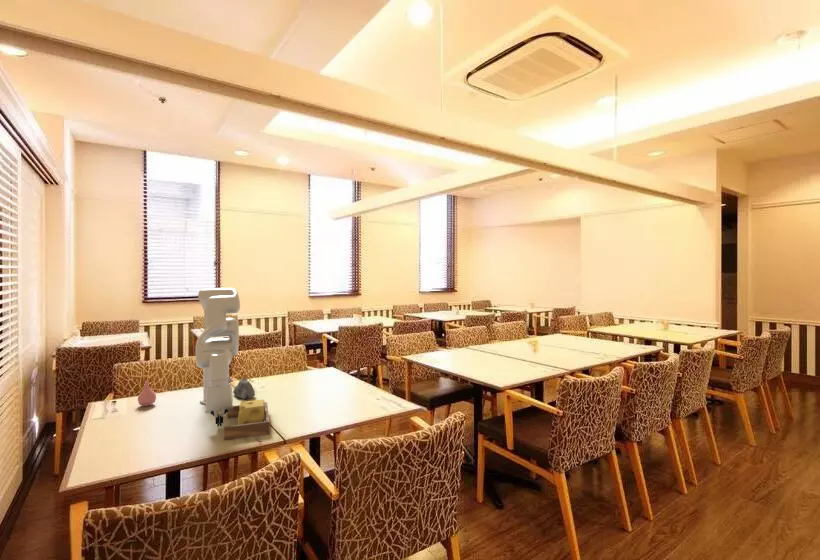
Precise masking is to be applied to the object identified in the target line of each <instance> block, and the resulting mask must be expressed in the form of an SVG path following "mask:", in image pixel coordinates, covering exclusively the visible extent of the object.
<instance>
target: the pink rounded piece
mask: <svg viewBox="0 0 820 560" xmlns="http://www.w3.org/2000/svg"><path fill="white" fill-rule="evenodd" d="M156 395H157V394H156V392H155V391H154V390H152V389H151V387H150V381H149V380H146V381H144V387H143V390H142V391H141V392H140V393H139V394H138V395H137V402H138V405H139V406H144V407H150V406H151V405H153V404H155V402H156V401H157V396H156Z"/></svg>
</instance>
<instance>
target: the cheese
mask: <svg viewBox="0 0 820 560" xmlns="http://www.w3.org/2000/svg"><path fill="white" fill-rule="evenodd" d="M264 403H265V399H256V400H254V399H253V400H242V401H240V404H239V405H240V406H239V414H238V417H237V418H238V422H237V425H241V424H249V423H257V422H265V409H264Z"/></svg>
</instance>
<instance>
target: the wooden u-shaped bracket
mask: <svg viewBox="0 0 820 560" xmlns="http://www.w3.org/2000/svg"><path fill="white" fill-rule="evenodd" d="M239 406H240V404H239V405H233V410H232V411H228V412H227V413H226V414H227V417H226V418H227V419H234V418H238V414H239ZM264 409H265V415H264V422H257V423H249V424H241V425H238V424H234V425H227V426H226V425H225V426H223V441H227V440H230V441H231V440H235V439H242V438H250V437H251V436H252V437H258V436H257V435H259V436H265V435H270V433H271V432H270V430H271V429H270V414H269V407H268V402H267V401H264Z"/></svg>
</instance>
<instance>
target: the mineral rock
mask: <svg viewBox="0 0 820 560" xmlns="http://www.w3.org/2000/svg"><path fill="white" fill-rule="evenodd" d="M232 394H233V395H234V396H236V397H238V398H241V399H243V400H248V399H253V398H254V397H255V396H256V393H255V389H254V386H253V385H252V383H251V382H250V381H249V380H248V379H247V378H245V377H243V378H242V379H241V380H239V382H238V383H237V385H236V386H235V387H234V389H233V390H232Z"/></svg>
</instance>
